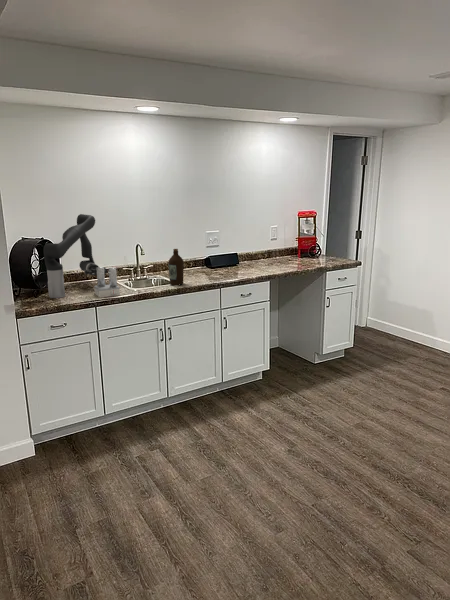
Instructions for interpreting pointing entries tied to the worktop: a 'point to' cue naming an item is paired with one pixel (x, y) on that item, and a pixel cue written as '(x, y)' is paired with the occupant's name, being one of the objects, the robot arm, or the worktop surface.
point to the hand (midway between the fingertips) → (98, 272)
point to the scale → (106, 291)
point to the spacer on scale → (112, 277)
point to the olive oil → (176, 268)
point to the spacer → (100, 276)
